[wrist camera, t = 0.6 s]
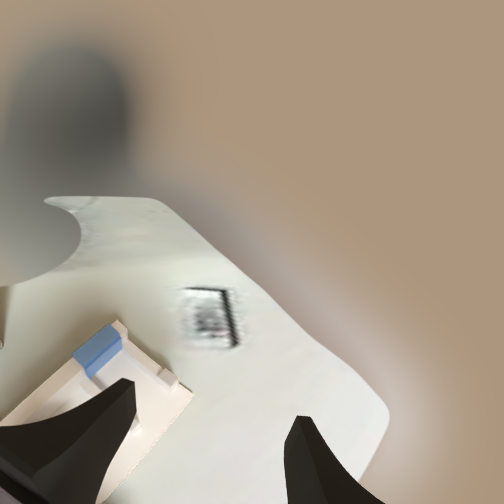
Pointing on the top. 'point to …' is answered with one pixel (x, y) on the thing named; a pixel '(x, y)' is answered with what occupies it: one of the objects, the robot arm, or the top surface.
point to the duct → (98, 379)
